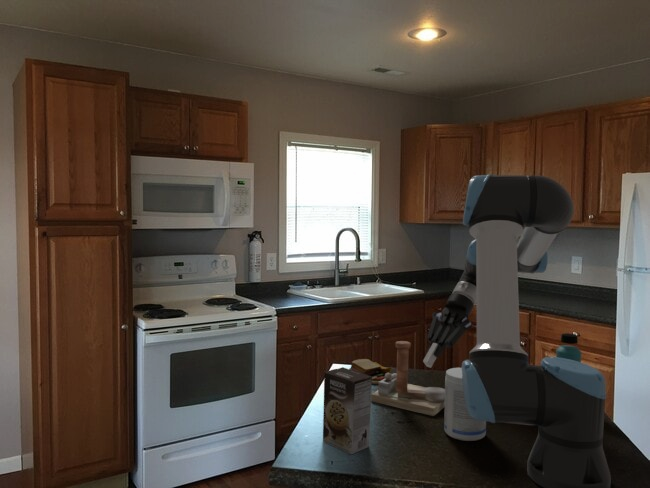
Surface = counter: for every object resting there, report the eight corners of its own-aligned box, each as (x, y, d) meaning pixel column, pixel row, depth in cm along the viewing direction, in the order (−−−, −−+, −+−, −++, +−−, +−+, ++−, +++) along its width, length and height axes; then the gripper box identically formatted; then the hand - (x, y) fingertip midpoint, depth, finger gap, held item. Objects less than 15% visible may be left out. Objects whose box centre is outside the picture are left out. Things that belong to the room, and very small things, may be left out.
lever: (446, 395, 149) (448, 342, 147) (447, 402, 143) (449, 348, 142) (394, 391, 151) (395, 339, 150) (393, 398, 145) (395, 345, 144)
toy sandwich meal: (369, 388, 161) (369, 372, 161) (342, 375, 172) (343, 360, 172) (401, 381, 168) (402, 366, 167) (374, 369, 179) (374, 355, 179)
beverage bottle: (577, 413, 143) (581, 338, 142) (550, 408, 147) (554, 334, 145) (581, 406, 149) (584, 333, 147) (554, 401, 152) (558, 330, 151)
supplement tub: (494, 437, 128) (496, 375, 127) (466, 446, 123) (468, 381, 122) (462, 422, 136) (464, 364, 135) (434, 430, 131) (437, 370, 130)
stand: (433, 416, 140) (434, 388, 139) (371, 401, 149) (371, 375, 149) (452, 400, 151) (453, 375, 151) (393, 387, 161) (394, 363, 161)
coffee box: (321, 441, 123) (322, 371, 122) (340, 433, 128) (342, 366, 127) (351, 455, 117) (353, 381, 116) (370, 446, 122) (372, 375, 120)
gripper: (439, 289, 168) (403, 351, 158) (477, 295, 158) (440, 362, 148) (449, 304, 172) (414, 366, 162) (486, 310, 162) (451, 377, 152)
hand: (426, 364), depth 155 cm, fingers closed
